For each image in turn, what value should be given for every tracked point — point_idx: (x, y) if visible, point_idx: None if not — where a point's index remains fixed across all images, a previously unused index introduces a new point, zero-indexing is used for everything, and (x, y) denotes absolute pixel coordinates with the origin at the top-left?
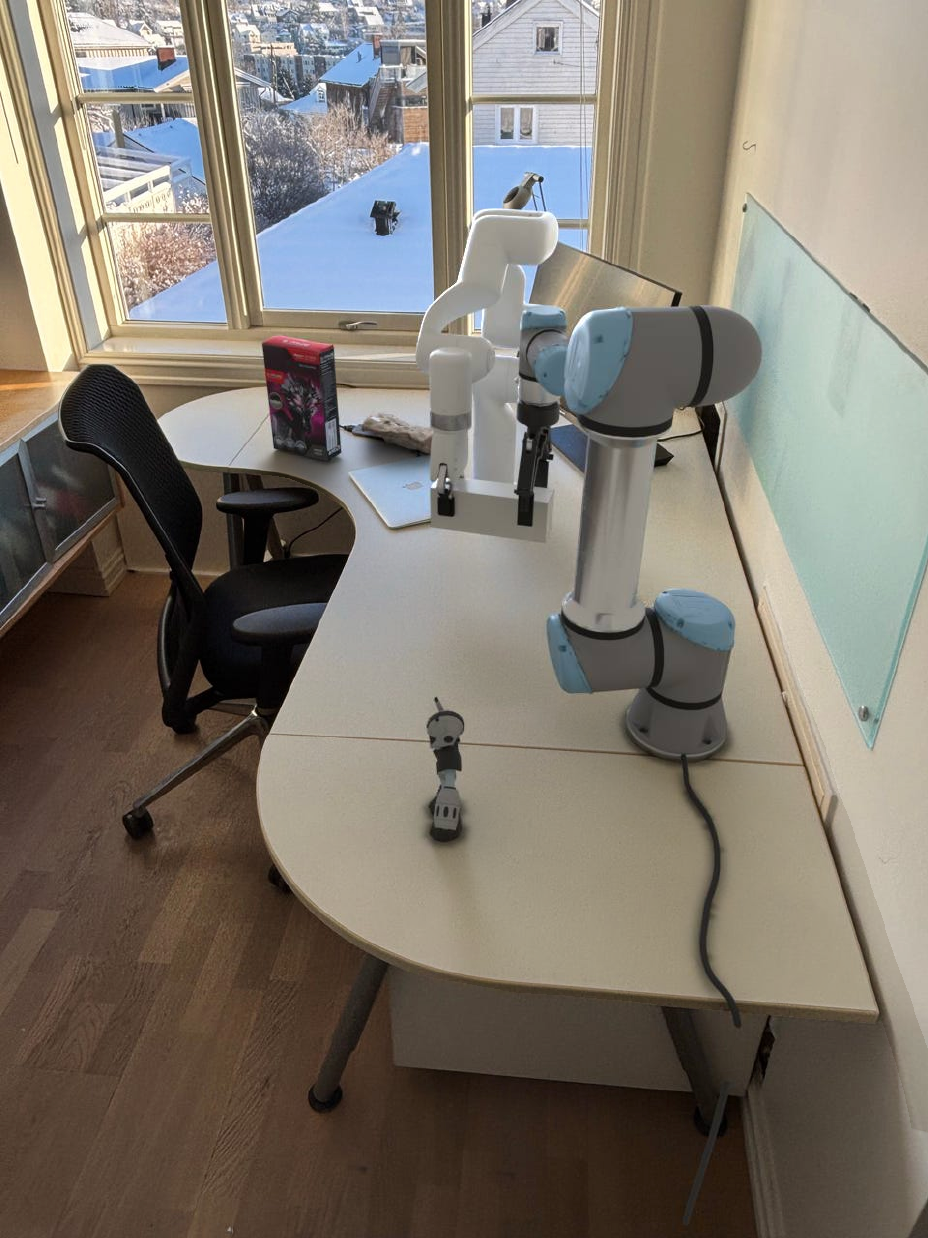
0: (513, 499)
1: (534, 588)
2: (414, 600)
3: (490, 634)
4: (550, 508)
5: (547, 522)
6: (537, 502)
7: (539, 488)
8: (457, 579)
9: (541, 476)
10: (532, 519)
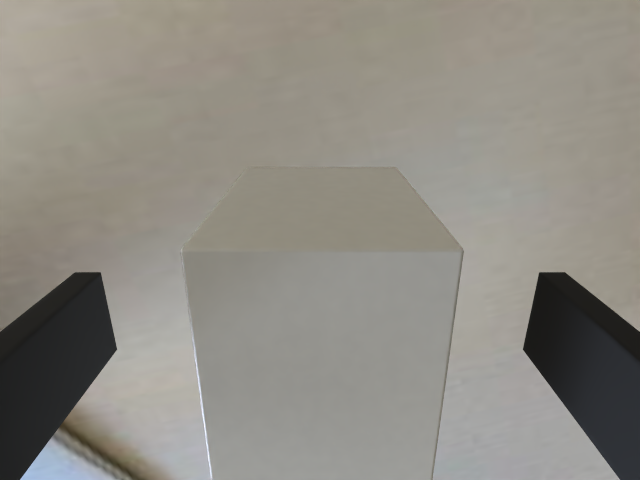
0: (431, 467)
1: (371, 158)
2: (487, 415)
3: (628, 225)
4: (322, 210)
5: (399, 194)
6: (452, 325)
7: (219, 356)
8: None
9: (32, 387)
10: (581, 295)
